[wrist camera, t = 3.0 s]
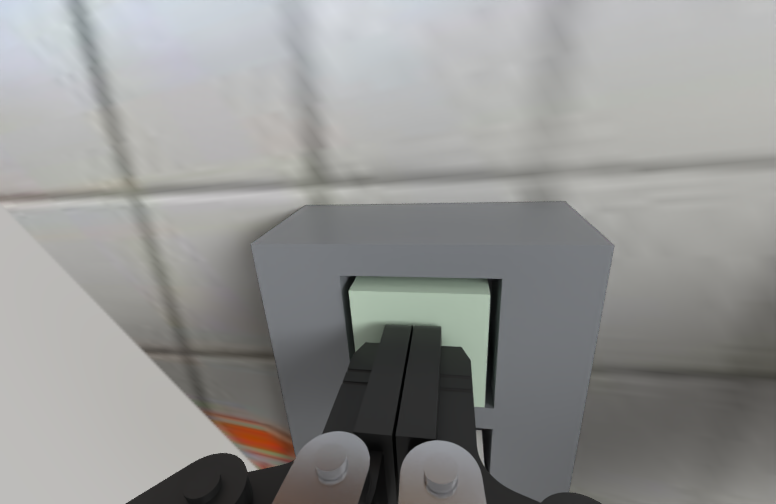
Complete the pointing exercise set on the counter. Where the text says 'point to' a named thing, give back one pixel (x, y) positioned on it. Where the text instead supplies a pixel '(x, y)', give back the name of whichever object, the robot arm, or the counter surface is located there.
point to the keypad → (449, 260)
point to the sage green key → (427, 314)
